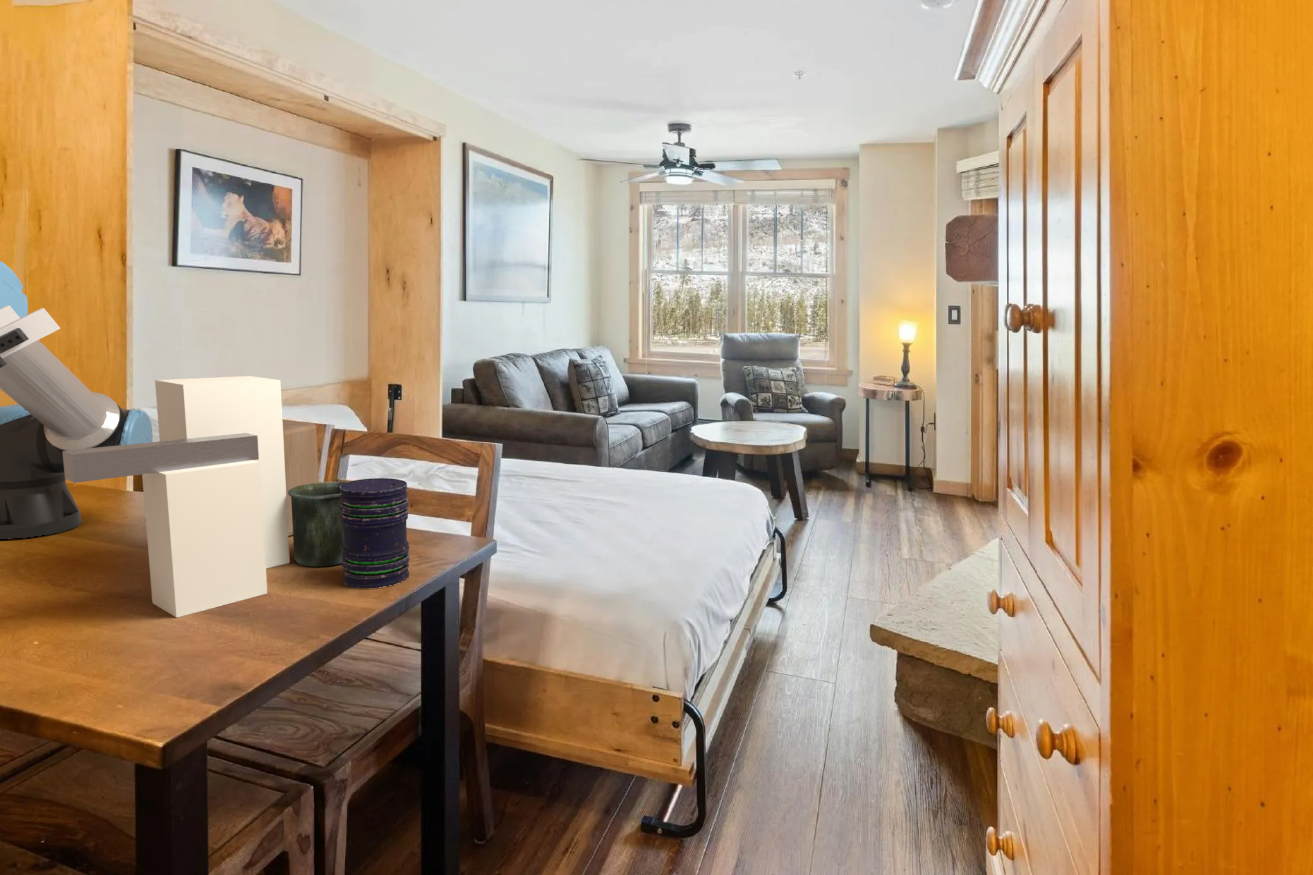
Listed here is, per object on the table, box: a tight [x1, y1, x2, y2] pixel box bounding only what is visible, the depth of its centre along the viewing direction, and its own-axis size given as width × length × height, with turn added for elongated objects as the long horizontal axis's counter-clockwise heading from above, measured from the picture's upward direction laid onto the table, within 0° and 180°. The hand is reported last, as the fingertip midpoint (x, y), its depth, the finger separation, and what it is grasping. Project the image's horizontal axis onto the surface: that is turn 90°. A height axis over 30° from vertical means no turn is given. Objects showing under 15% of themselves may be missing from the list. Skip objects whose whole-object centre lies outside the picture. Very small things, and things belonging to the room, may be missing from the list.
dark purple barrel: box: [340, 477, 411, 589], centre depth 117 cm, size 10×10×15 cm
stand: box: [154, 375, 291, 569], centre depth 119 cm, size 10×14×30 cm
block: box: [282, 420, 320, 537], centre depth 142 cm, size 10×10×20 cm
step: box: [141, 460, 268, 619], centre depth 107 cm, size 8×12×20 cm, turn 143°
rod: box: [62, 433, 259, 484], centre depth 102 cm, size 4×22×4 cm, turn 143°
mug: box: [288, 481, 347, 568], centre depth 128 cm, size 11×15×12 cm
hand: (33, 316), depth 92 cm, fingers open, 13 cm apart
